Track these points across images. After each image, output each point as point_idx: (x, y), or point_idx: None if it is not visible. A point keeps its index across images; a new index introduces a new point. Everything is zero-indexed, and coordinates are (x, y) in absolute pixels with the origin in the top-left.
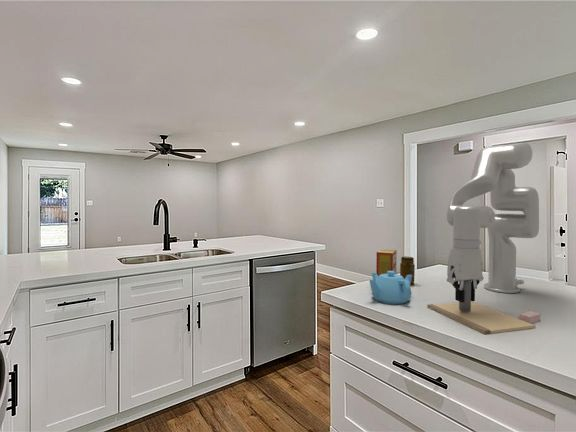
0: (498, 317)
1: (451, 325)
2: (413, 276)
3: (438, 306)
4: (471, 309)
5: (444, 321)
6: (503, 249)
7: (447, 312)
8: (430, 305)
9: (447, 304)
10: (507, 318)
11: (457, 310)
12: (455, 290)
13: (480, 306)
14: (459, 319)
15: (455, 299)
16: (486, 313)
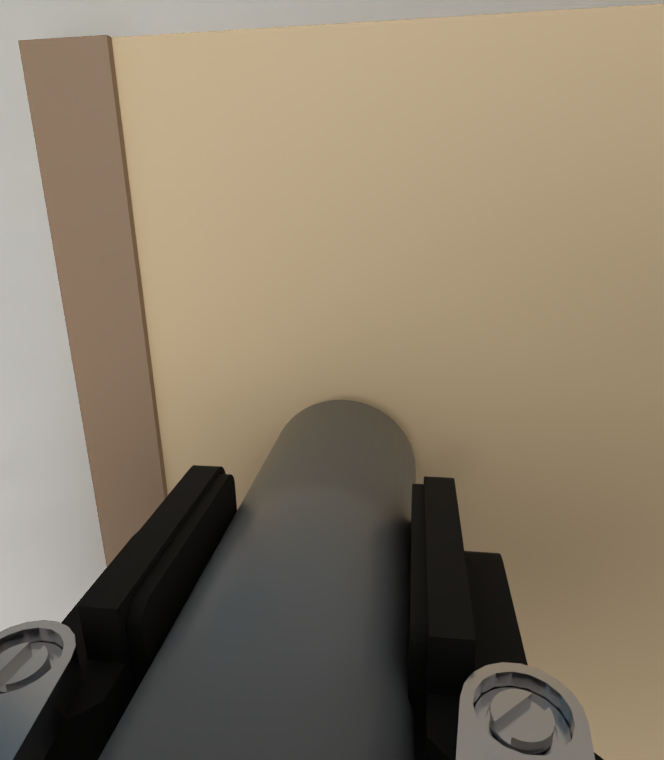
0: (579, 689)
1: (23, 612)
2: None
3: (154, 151)
4: (526, 397)
5: (11, 525)
6: None
7: (113, 421)
8: (43, 98)
9: (357, 90)
10: (645, 736)
11: (304, 376)
12: (114, 561)
13: None
14: None
15: (193, 467)
16: (576, 564)
